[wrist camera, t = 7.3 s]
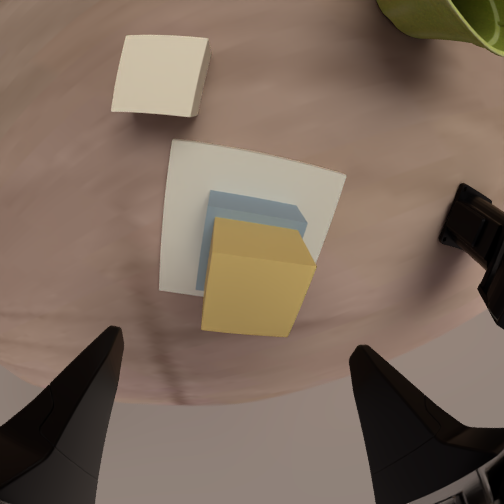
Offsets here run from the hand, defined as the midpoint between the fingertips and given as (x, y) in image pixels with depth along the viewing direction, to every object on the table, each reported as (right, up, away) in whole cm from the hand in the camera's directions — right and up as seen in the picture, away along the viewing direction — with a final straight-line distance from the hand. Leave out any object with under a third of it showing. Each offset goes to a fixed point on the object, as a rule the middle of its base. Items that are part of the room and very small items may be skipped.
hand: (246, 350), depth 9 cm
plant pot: (+12, +23, +2) cm, 26 cm away
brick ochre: (0, +3, +8) cm, 8 cm away
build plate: (0, +5, +11) cm, 12 cm away
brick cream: (-5, +15, +5) cm, 16 cm away
